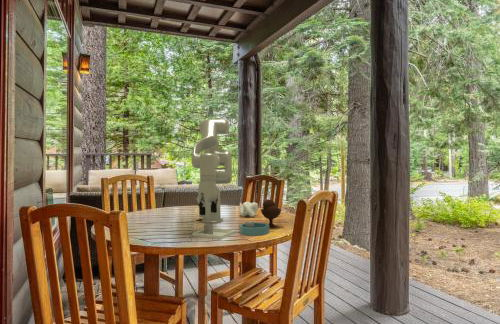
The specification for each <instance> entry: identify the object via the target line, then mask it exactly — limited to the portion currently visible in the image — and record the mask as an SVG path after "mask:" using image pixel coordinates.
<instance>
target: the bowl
mask: <svg viewBox="0 0 500 324" xmlns="http://www.w3.org/2000/svg"><path fill="white" fill-rule="evenodd" d="M253 222H254V228H249V227H245V222H244V223H241V224H239V225H238V232H239V233H240V234H241V235H244V236H251V237H254V236H264V235H267V234H269V233H270V228H269V225H268V224H269V223H265V222H255V221H253Z"/></svg>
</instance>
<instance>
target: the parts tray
mask: <svg viewBox="0 0 500 324" xmlns="http://www.w3.org/2000/svg"><path fill="white" fill-rule="evenodd" d="M235 234H236V235H237V230H235V229H227V228H216V227H213V234H212V235H211V234H204V228H203V229H201V230H198V231H195V232H192V237H195V238H206V239H213V240H223V239H226V238H228V237H230V236H233V235H235Z"/></svg>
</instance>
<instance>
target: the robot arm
mask: <svg viewBox="0 0 500 324" xmlns="http://www.w3.org/2000/svg"><path fill="white" fill-rule="evenodd" d="M199 131H200V134H201V138H200V140H198V141H197V142H196V143H195V144H194V146H193V148H192V151H191V165H192V167H193V168H195V169H199V183H198V189H197V191H198V192H197V197H196V198H195V199H196V203H197V205H198V208H199V209H198V212H199V213H198V214H199V218H202V219H201V222H202V223H205V224H217V223H222V222H224V219H223V218H222V217H221V190H220V188H219V187H218V186H217V185H219V184H220V185H225V184H226V185H228V184H231V182H232V180H233V165H232V164H233V163H232V162H233V161H232V159H233V158H232V152H231V151H230V150H229V149H220V142H219V139H218V135H228V133H229V131H230V123H229V120H228V119H225V118H207V119H204V120H201V121H200V123H199ZM201 152H202V153H201ZM203 152H204V153H203ZM219 166H220V167H219Z"/></svg>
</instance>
